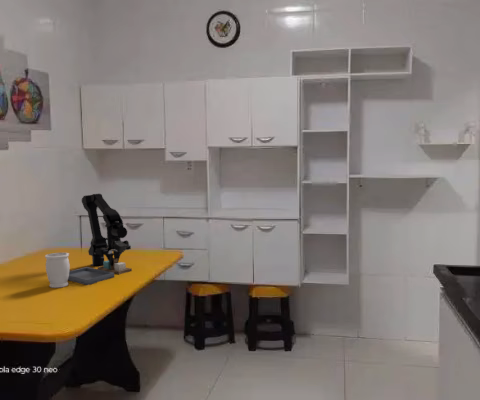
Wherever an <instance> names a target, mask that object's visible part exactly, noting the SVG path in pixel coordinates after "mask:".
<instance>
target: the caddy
mask: <svg viewBox="0 0 480 400" xmlns="http://www.w3.org/2000/svg"><path fill="white" fill-rule="evenodd" d="M115 263H119V261H118V258H114V257H113V266H111V269H106V268H104V265H103V266H98V267H97V269H98V270H103V271H108V272H112V273H114V275H115V274H116V275H123V274H126V273H130V272H132V271H133V269H132V268H129V267H126V270H123V271H115V268H114V264H115Z"/></svg>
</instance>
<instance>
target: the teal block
mask: <svg viewBox="0 0 480 400" xmlns="http://www.w3.org/2000/svg"><path fill="white" fill-rule="evenodd" d="M103 264H104V265H103V266H104V268H106V269H111V264H110V262H109V260H108V259H107V260H104V262H103Z"/></svg>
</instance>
